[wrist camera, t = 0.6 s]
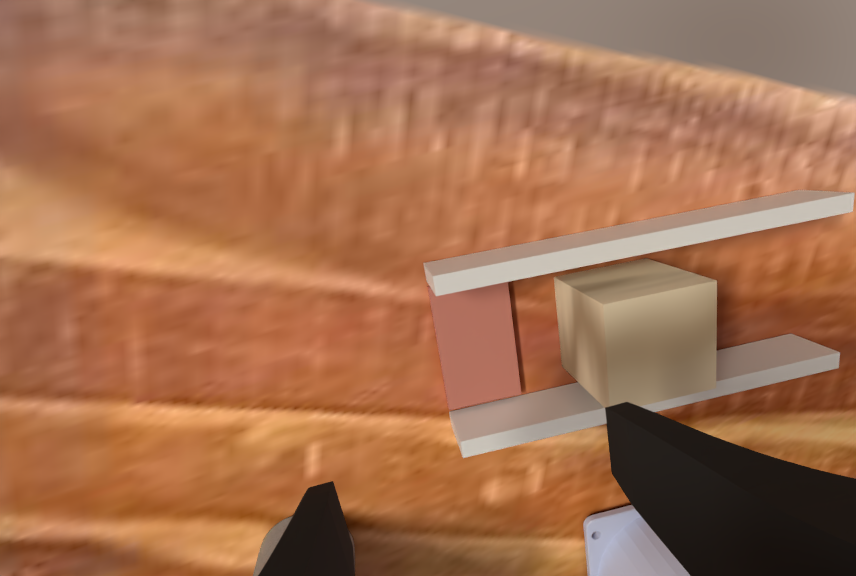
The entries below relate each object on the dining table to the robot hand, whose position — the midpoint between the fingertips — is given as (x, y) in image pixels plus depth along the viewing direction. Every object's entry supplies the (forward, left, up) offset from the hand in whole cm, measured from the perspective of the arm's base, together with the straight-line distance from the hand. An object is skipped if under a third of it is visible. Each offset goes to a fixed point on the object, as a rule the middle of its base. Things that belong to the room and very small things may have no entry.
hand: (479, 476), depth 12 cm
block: (-1, -9, -10) cm, 13 cm away
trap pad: (-1, -2, -10) cm, 10 cm away
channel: (-1, -10, -9) cm, 13 cm away
